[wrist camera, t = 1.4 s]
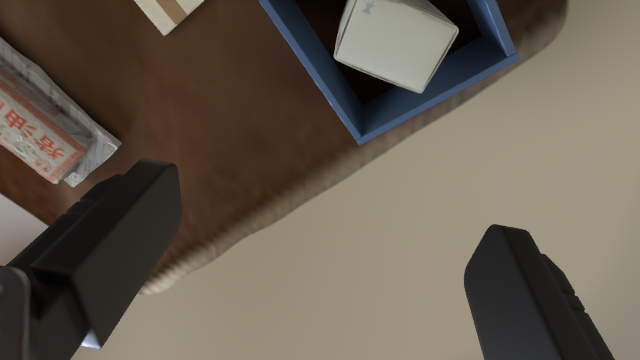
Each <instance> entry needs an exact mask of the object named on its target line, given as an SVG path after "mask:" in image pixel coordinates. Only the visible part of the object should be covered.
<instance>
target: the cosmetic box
mask: <svg viewBox="0 0 640 360" xmlns="http://www.w3.org/2000/svg"><path fill="white" fill-rule="evenodd" d="M458 32H459V29H458V27H457V26H456V25H454V24H453V23H452V22H451V21H450V20H449V19H448V18H447V17H446V16H445V15H443V14H442V13H441V12H440V11H439V10H438V9H437V8H436V7H435V6H433V5H432V4H431V3H430V2H429V1H428V0H347V2H346V4H345V7H344V10H343V13H342V16H341V20H340V25H339V30H338V35H337V40H336V46H335V52H334V58H335V59H336V60H337V61H339V62H341V63H343V64H346V65H348V66H350V67H352V68H354V69H357V70H359V71H361V72H364V73H366V74H369V75H372V76H374V77H376V78H379V79H382V80H384V81H387V82H389V83H392V84H395V85H397V86H400V87H403V88H406V89H409V90H411V91H414V92H417V93H422V92H423V91H424V89H425V87H426V86H427V84H428V83H429V81H430V79H431V78H432V76H433V75H434V73H435V72H436V70H437V68H438V67H439V65H440V63H441V61H442V60H443V58H444V57H445V55H446V53H447V52H448V50H449V48H450V47H451V45H452V43H453V41H454V40H455V38H456V36H457V34H458Z"/></svg>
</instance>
